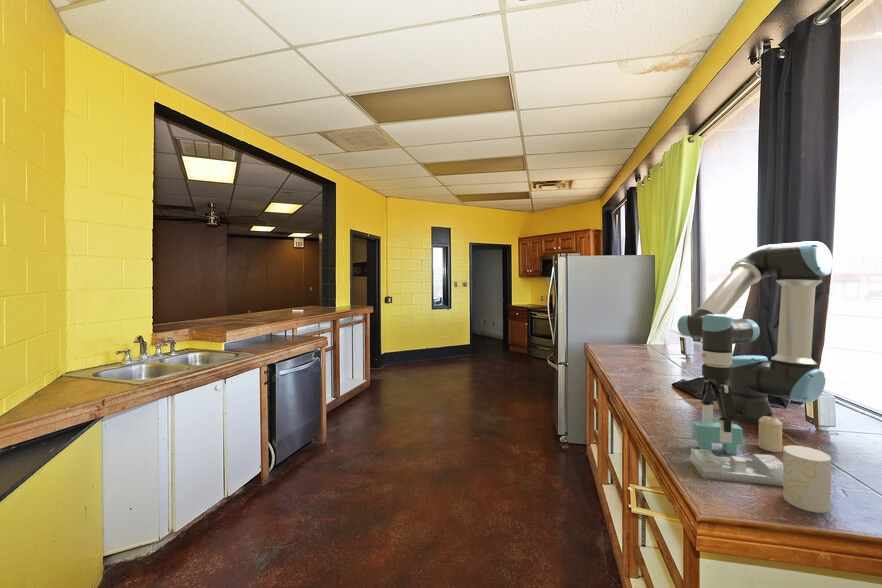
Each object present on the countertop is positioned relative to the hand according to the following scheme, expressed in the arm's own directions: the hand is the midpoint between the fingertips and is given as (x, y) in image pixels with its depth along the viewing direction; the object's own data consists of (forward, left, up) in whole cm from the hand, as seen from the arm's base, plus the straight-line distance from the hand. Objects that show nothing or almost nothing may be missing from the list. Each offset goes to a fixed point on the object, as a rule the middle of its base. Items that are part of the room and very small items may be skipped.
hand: (716, 433), depth 118 cm
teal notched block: (0, 0, -6) cm, 6 cm away
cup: (-9, +26, -6) cm, 28 cm away
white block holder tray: (0, +14, -6) cm, 15 cm away
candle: (-16, -5, -6) cm, 18 cm away
